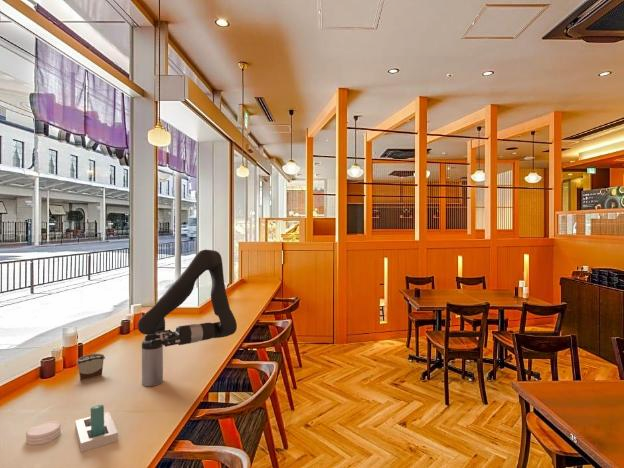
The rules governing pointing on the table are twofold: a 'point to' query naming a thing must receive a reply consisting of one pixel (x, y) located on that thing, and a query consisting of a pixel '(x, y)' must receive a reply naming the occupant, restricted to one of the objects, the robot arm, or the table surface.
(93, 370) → the food container
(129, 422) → the table surface
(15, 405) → the table surface
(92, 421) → the teal cylinder
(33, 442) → the coaster
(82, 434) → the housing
